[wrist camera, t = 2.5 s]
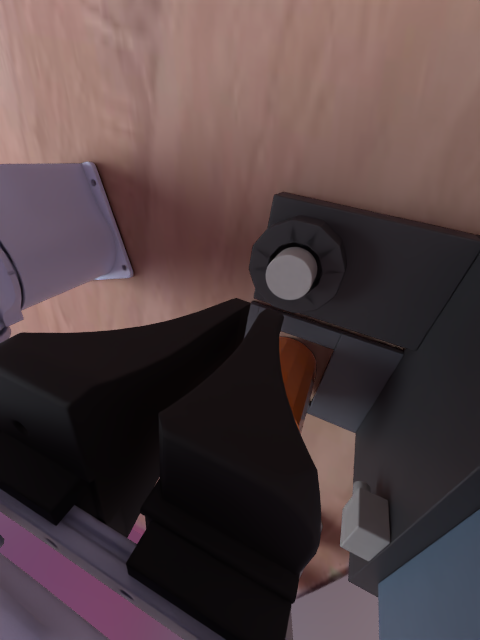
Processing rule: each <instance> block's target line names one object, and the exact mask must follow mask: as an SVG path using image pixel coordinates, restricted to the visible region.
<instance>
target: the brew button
mask: <svg viewBox="0 0 480 640" xmlns="http://www.w3.org/2000/svg"><path fill="white" fill-rule="evenodd" d="M316 275H317V263H316V260H315V258H314V257H313V255H312V254H311V253H310V252H309V251H307V250H305V249H303V248H300V247H289V248H286V249H284V250H283V251H281V252H280V253H279V254H278V255H277V256H276V257H275V258H274V259H273V260H272V261H271V262H270V264H269V265H268V267H267V270H266V282H267V285H268V287H269V289H270V290H271V291H272V292H273V293H274V294H275V295H276V296H278V297H280V298H282V299H286V300H295V299H298V298H301V297H303V296H304V295H305V294H306V293H307V292H308V291H309V290H310V288H311V286H312V284H313V282H314V279H315V277H316Z"/></svg>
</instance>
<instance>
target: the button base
mask: <svg viewBox="0 0 480 640" xmlns="http://www.w3.org/2000/svg"><path fill="white" fill-rule="evenodd" d="M289 247H300V248H303V249H305V250H307V251H309V252H310V253H311V254H312V255H313V257H314V258H315V260H316V263H317V275H316V277H315V279H314V282H313V284H312V286H311V288H310V290H309V291H308V292H307V293H306V294H305V295H304V296H303V297H301V298H298V299H295V300H286V299H282V298H280V297H278V296H276V295H275V294H274V293H273V292H272V291H271V290H270V289H269V287H268V285H267V282H266V270H267V267H268V265H269V264H270V262H271V261H272V260H273V259H274V258H275V257H276V256H277V255H278V254H279V253H280V252H281V251H283V250H284V249H286V248H289ZM479 253H480V238H478V237H477V236H476V235H474V234H471V233H466V232H462V231H457V230H453V229H448V228H444V227H439V226H435V225H430V224H426V223H421V222H417V221H412V220H408V219H403V218H399V217H394V216H390V215H385V214H381V213H376V212H372V211H367V210H362V209H358V208H353V207H349V206H344V205H340V204H335V203H331V202H326V201H322V200H317V199H313V198H308V197H304V196H299V195H295V194H290V193H286V192H281V193H278V194H275V195H274V198H273V203H272V208H271V213H270V218H269V223H268V228H267V230H266V231H265V232H264V233H263V234H262V235H261V237H260V238H259V239H258V240H257V241H256V242H255V244H254V245H253V247H252V253H251V259H250V264H249V271H250V274H251V277H252V280H253V283H254V286H255V293H254V298H255V299H258V300H261V301H264V302H267V303H270V304H271V305H273V307H276V308H279V309H282V310H285V311H288V312H291V313H300V314H303V315H306V316H309V317H313V318H316V319H319V320H322V321H325V322H328V323H331V324H334V325H337V326H340V327H343V328H346V329H349V330H352V331H355V332H358V333H361V334H364V335H367V336H370V337H373V338H377V339H380V340H383V341H386V342H389V343H392V344H395V345H398V346H401V347H404V348H407V349H410V350H413V351H416V350H417V349H418V347H419V346H420V344H421V343H422V341H423V339H424V338H425V336H426V335H427V333H428V332H429V330H430V329H431V327H432V326H433V324H434V322H435V321H436V319H437V318H438V316H439V315H440V313H441V312H442V310H443V308H444V307H445V305H446V304H447V302H448V301H449V299H450V298H451V296H452V294H453V293H454V291H455V290H456V288H457V287H458V285H459V284H460V282H461V281H462V279H463V277H464V276H465V274H466V273H467V271H468V270H469V268H470V267H471V265H472V263H473V262H474V260H475V259H476V257H477V256H478V254H479Z"/></svg>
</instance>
